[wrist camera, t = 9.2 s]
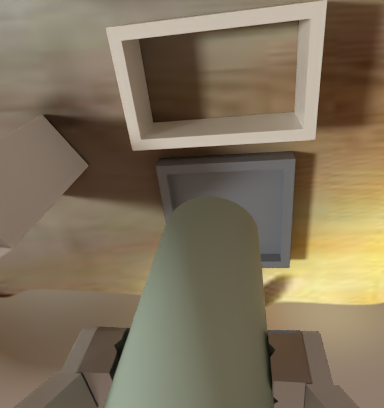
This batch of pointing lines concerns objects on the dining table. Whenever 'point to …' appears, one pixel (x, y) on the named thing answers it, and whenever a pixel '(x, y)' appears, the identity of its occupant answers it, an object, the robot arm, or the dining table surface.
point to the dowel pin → (199, 317)
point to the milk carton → (32, 177)
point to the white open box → (225, 126)
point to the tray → (239, 192)
